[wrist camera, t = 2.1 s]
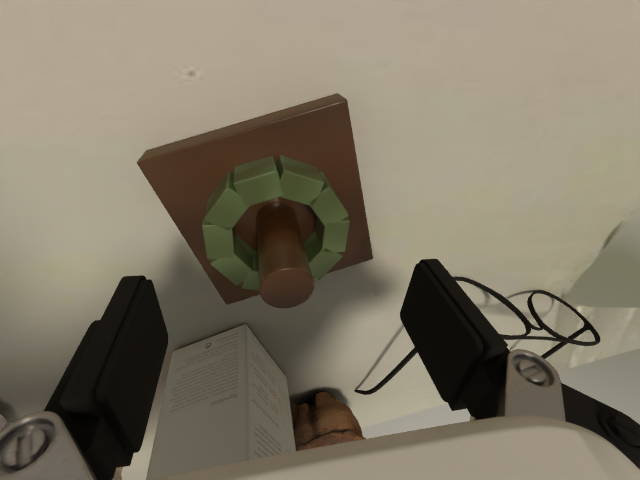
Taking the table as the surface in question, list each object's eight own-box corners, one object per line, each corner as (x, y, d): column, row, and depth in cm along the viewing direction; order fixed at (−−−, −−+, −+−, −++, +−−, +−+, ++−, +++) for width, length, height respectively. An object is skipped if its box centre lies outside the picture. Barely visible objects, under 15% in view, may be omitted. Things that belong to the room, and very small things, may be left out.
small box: (171, 348, 21) (121, 566, 13) (247, 320, 21) (248, 520, 12) (226, 399, 26) (217, 581, 17) (288, 376, 26) (309, 548, 17)
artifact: (360, 373, 28) (379, 432, 24) (344, 416, 32) (359, 472, 28) (274, 382, 26) (280, 448, 22) (270, 426, 30) (274, 488, 26)
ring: (180, 182, 13) (172, 201, 12) (326, 138, 13) (335, 151, 12) (237, 283, 17) (236, 307, 16) (350, 248, 17) (359, 269, 16)
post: (145, 150, 14) (83, 228, 8) (338, 92, 14) (394, 133, 9) (227, 287, 19) (220, 387, 14) (365, 244, 19) (410, 326, 14)
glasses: (564, 293, 27) (613, 345, 23) (459, 375, 35) (483, 422, 32) (434, 271, 22) (471, 333, 18) (349, 372, 30) (362, 428, 27)
